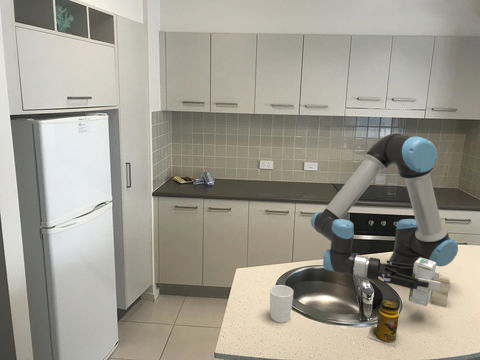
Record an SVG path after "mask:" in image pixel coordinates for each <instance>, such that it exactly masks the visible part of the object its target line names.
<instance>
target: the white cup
mask: <svg viewBox="0 0 480 360" xmlns="http://www.w3.org/2000/svg"><path fill="white" fill-rule="evenodd" d="M293 300H294V289H293V288H291V287H290V286H287V285H285V284H278V285H273V286H271V287H270V289H269V309H270V311H269V313H270V314H269V316H270V319H271V320H272V321H274V322H275V323H276V322H277V323H281V324H282V323H286V322H288V321H290V320H291V312H292V309H293Z"/></svg>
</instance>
